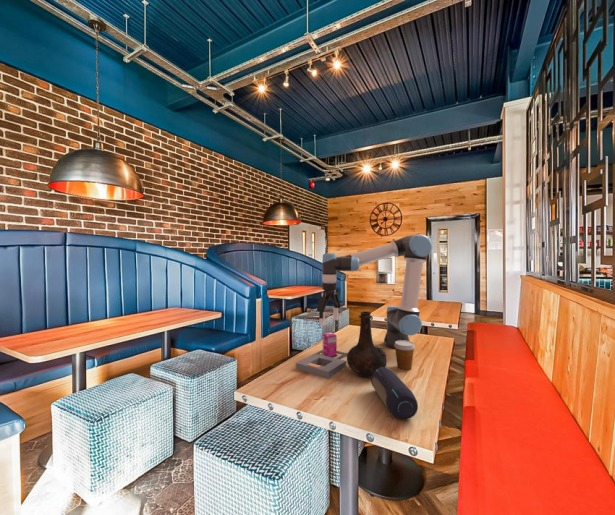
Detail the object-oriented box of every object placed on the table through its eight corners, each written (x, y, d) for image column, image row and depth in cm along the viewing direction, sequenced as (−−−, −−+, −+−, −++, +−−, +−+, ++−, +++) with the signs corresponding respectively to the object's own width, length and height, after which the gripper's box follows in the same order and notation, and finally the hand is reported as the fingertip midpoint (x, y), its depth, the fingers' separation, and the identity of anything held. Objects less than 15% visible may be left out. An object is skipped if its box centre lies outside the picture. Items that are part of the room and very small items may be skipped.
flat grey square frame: (348, 354, 161) (348, 353, 161) (334, 362, 149) (334, 361, 149) (325, 349, 170) (325, 348, 170) (310, 356, 158) (310, 355, 158)
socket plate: (346, 367, 143) (346, 360, 143) (328, 378, 130) (328, 371, 130) (315, 359, 154) (315, 352, 154) (296, 369, 141) (296, 362, 141)
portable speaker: (368, 389, 121) (368, 364, 120) (392, 387, 122) (392, 363, 121) (391, 425, 96) (391, 394, 95) (421, 423, 97) (421, 392, 96)
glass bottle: (382, 384, 124) (382, 317, 124) (341, 377, 132) (341, 314, 131) (389, 369, 140) (389, 310, 140) (352, 363, 148) (352, 307, 147)
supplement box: (322, 354, 161) (322, 333, 161) (331, 353, 163) (331, 332, 163) (327, 358, 156) (327, 336, 155) (337, 356, 158) (337, 334, 158)
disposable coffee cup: (396, 362, 148) (396, 338, 148) (416, 366, 143) (416, 341, 143) (391, 369, 140) (391, 344, 140) (412, 373, 135) (412, 347, 135)
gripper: (335, 280, 171) (335, 317, 171) (309, 283, 151) (309, 325, 151) (346, 280, 166) (346, 318, 167) (322, 284, 146) (322, 327, 147)
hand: (329, 322), depth 159 cm, fingers open, 13 cm apart
